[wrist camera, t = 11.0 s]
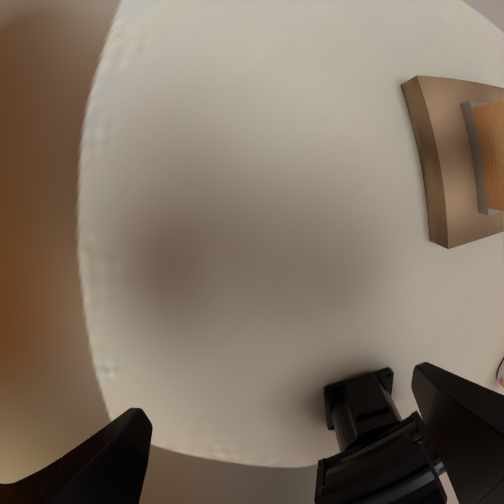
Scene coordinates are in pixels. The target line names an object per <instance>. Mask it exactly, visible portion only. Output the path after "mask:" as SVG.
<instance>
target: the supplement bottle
mask: <svg viewBox="0 0 504 504" xmlns="http://www.w3.org/2000/svg"><path fill="white" fill-rule="evenodd" d="M497 378H498V381H499V383H500V384H501V385H502V386H503V387H504V360H503V362H502V364H501V366H500V368H499V371H498V376H497Z"/></svg>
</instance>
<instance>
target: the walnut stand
mask: <svg viewBox="0 0 504 504" xmlns="http://www.w3.org/2000/svg"><path fill="white" fill-rule="evenodd" d="M401 87H402V90H403V93H404V96H405V100H406V103H407V106H408V110H409V113H410V117H411V121H412V125H413V128H414V133H415V137H416V141H417V146H418V150H419V155H420V160H421V166H422V172H423V178H424V184H425V191H426V199H427V207H428V217H429V229H430V241H431V242H433V243H436V244H438V245H440V246H443V247H445V248H447V249H450V248H453V247H456V246H459V245H463V244H466V243H469V242H472V241H475V240H478V239H482V238H485V237H488V236H491V235H494V234H497V233H500V232H503V231H504V212H499V213H495V214H491V215H486V214H481V213H478V200H477V189H476V180H475V173H474V166H473V159H472V154H471V148H470V143H469V138H468V134H467V129H466V125H465V121H464V117H463V113H462V110H461V106H460V104H462V103H465V102H468V101H474V102H482V103H493V102H498V101H502V100H504V88H500V87H496V86H491V85H486V84H481V83H476V82H470V81H464V80H457V79H450V78H441V77H431V76H415V77H413V78H412V79H410V80H409V81H407V82H405V83H404V84H402V85H401Z"/></svg>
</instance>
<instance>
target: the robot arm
mask: <svg viewBox="0 0 504 504" xmlns="http://www.w3.org/2000/svg"><path fill="white" fill-rule="evenodd" d="M388 373H389V374H388ZM393 374H394V373H393V371H392V369H390V368H388V369H385V370H382V371H379V372H375V373H372V374H369V375H365V376H362V377H359V378H355V379H351V380H348V381H344V382H340V383H336V384H332V385H328V386H326V387H325V388H324V390H323V391H324V399H325V408H326V418H327V427H328V430H335V432H336V436H337V440H338V444H339V448H340V453H338V454H336V455H334V456H331V457H329V458H326V459H325V458H324V459H321V460H319V461H318V469H317V479H316V490H315V499H314V501H315V504H446V503H447V496H446V493H445V491H444V488H443V486H442V484H441V481H440V479H439V477H438V476H439V475H442V474H443V473H445V472H447V475H448V477H449V479H450V482H451V484H452V487H453V489H454V491H455V494H456V496H457V499H458V501H459V504H504V395H502V394H499V393H497V392H495V391H492V390H490V389H487V388H485V387H483V386H480V385H478V384H476V383H473V382H471V381H469V380H467V379H464V378H462V377H460V376H457V375H455V374H453V373H451V372H448V371H446V370H444V369H442V368H439V367H437V366H435V365H433V364H430V363H428V362H423V363H421V364H418V365H416V366H415V367H414V370H413V377H412V383H411V387H412V391H413V394H414V396H415V399H416V402H417V405H418V407H419V410H420V413H421V416H422V418H421V417H420V415H419V413H418V412H417V410H416V411H415V412H413V413H412V414H411V415H410V416H409V417H407V418H406V419H404V420H402V418H401V416H400V414H399V412H398V410H397V408H396V406H395V404H394V402H393V400H392V398H391V394H392V384H393ZM329 390H331V391H329ZM422 419H423V420H422ZM151 436H152V424H151V422H150V420H149V419H148V417H147V416H146V414H145V413H144V411H143V410H142V409H141V408H130V409H128V410H127V411H126V412H124V413H123V414H122V415H120V416H119V417H118V418H116V419H115V420H113V421H112V422H111V423H109V424H108V425H107V426H105V427H104V428H103V429H101V430H100V431H98V432H97V433H96V434H94V435H93V436H91V437H90V438H89V439H87V440H86V441H84V442H83V443H81V444H80V445H79V446H77V447H76V448H74V449H73V450H71V451H70V452H68V453H67V454H65V455H64V456H63V457H61V458H59V459H58V460H56V461H55V462H53V463H52V464H50V465H48V466H47V467H45V468H43V469H42V470H40V471H38V472H36V473H34V474H32V475H30V476H28V477H26V478H24V479H22V480H19V481H17V482H15V483H11V484H0V504H139V500H140V495H141V491H142V487H143V482H144V478H145V474H146V469H147V465H148V459H149V452H150V444H151Z"/></svg>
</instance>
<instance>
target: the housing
mask: <svg viewBox="0 0 504 504" xmlns="http://www.w3.org/2000/svg"><path fill="white" fill-rule="evenodd" d="M460 106H461V110H462V113H463V117H464V121H465V125H466V129H467V134H468V138H469V143H470V148H471V154H472V159H473V166H474V173H475V180H476V189H477V200H478V213H481V214H486V215H491V214H495V213H499V212H504V100H502V101H498V102H493V103H482V102H474V101H468V102H465V103H462V104H460Z"/></svg>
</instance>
